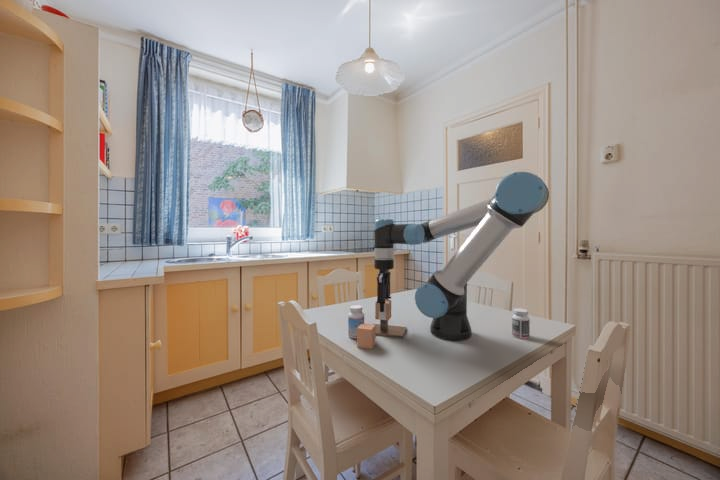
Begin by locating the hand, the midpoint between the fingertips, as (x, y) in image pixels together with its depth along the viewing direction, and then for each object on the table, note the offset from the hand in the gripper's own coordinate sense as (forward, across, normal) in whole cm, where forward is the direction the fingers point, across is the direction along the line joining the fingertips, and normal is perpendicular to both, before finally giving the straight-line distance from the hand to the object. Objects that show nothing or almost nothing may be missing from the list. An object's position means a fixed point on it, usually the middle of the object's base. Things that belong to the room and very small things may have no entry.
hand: (384, 317), depth 114 cm
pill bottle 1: (+6, +8, -9) cm, 13 cm away
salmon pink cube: (0, 0, 0) cm, 0 cm away
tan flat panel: (+6, 0, 0) cm, 6 cm away
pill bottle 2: (+6, -9, +50) cm, 51 cm away
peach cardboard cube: (+6, +15, -3) cm, 16 cm away
